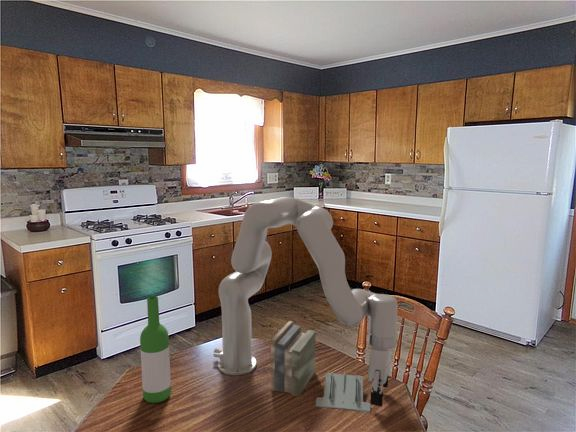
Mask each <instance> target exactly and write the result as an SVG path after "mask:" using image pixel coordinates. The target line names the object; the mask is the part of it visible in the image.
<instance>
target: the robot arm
mask: <svg viewBox="0 0 576 432" xmlns="http://www.w3.org/2000/svg"><path fill="white" fill-rule="evenodd" d="M287 225H292V226H295V227H296V231H297V233H298V235H299V236H300V238H301V240H302V242H303V243H304V245H305V247H306V248H307V250H308V253H309V254H310V256H311V258H312V260H313V261H314V263H315V264H316V266H317V268H318V273H319V278H320V282H321V286H322V289H323V292H324V293H323V294H324V295H325V298H326V300H327V302H328V304H329V306H330V308H331V309H332V311H333V312H334V313H333V314H334V315H336V317H337V318H338V320H339V321H340V322H341V323H343V324H344V325H345V326H349V327H353V326H358V325H359V324H361V323H362V322H363V320H364V319H365V318H366V317H368V335H367V338H368V339H367V340H368V341H367V344H368V345H369V346H370V351H369V361H368V374H367V380H368V381H367V382H372V383H371V388H370V389H371V390H370V400H369V401H370V402H369V403H370V405H373V406H377V407H381V408H382V407H383V400H384V399H383V398H384V392H383V388H388V386H389V373H390V367H391V358H392V350H393V349H395V348H396V345H397V327H398V326H397V324H398V323H397V322H398V304H399V303H398V300H397V299H396V297H394V296H392V295H390V294H387V293H385V294H384V293H375V292H372V291H369V290H366V289H362V288H354V289H351V287H350V285H349V283H348V281H347V276H346V256H345V253H344V251H343V249H342V247H341V246H340V244H339V243H338V241H337V239H336V237H335V236H334V234H333V232H332V228H333V225H334V219H333V216H332V214H331V213H330V211H328V210H327V209H326V208H323V207H320V206H319V205H315V204H312V203H311V202H308V201H307V202H306V201H304V200H301V199H298V198H295V197H291V196H282V197H279V198H278V197H277V198H272V199H268V200H263V201H258V202H254V203H252V204H251V205H250V206H249V207H248V208H247V209H246V210H245V212H244V214H243V218H242V222H241V225H240V229H239V232H238V235H237V238H236V241H235V244H234V248H233V250H232V255H231V258H230V259H231V260H230V263H231V266H232V269H233V270H234V272H232V273H230V274H228V275H226V276H225V277H224V278H223V279H222V280H221V282H220V284H219V286H218V297H219V301H220V307H221V324H222V327H221V328H222V332H221V333H222V348H220V347H219V348H218V347H214V350H213V357H214V358H218V359H219V361H218V364H217V365H218V369H219V371H220V372H222V373H223V374H224V375H227V376H228V375H229V376H242V375H247V374H249V373H251V372H253V371H254V370H255V369H256V367H257V358H255V357H254V356H253V354H252V353H253V351H252V350H253V349H252V348H253V347H252V342H253V341H252V339H253V338H252V337H253V336H252V328H253V327H252V309H251V307H250V304H249V298H251V297H252V296H253V295H255V294H256V293H258V292H259V291H260V289H262V287H263V285H264V282H265V279H266V276H267V273H268V271H269V267H270V264H271V261H272V257H273V256H272V255H273V253H272V248H271V245H270V244H269V242H268V241H267V237H268V229H272V228H273V229H274V228H275V229H276V228H280V227H281V228H282V227H283V226H287Z"/></svg>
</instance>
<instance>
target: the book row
mask: <svg viewBox="0 0 576 432" xmlns="http://www.w3.org/2000/svg"><path fill="white" fill-rule="evenodd" d="M301 327H302V326H301V325H297V324H294V321H293V320H292V321H291V320H289V321H288V322H286V324H284V326H283V327H282V328H280V330H279V331H278V332H277V333H276V334H275V335H274V336H273V337H272V338H271V339H270V390H271V391H277V392H280V393H284V392H285V393H288V394H291V396H294V397H298V398H300V396H301V395H302V393H303V392H304V390H305V389H306V387H307V385H308V384H309V382H310V381H311V379H312V378H313V376H314V374H315V373H316V337H317V336H316V331H315V330H312V329H311V330H310V329H308V330H307V331H306V332H305V333H304V332H302V329H301Z"/></svg>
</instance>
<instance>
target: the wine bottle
mask: <svg viewBox="0 0 576 432" xmlns="http://www.w3.org/2000/svg"><path fill="white" fill-rule="evenodd" d="M146 302H147V306H146V307H147V325H146V326H145V327H144V328H143V329H142V331H141V333H140V337H139V342H140V343H139V344H140V365H141V366H140V368H141V385H142V387H141V388H142V397H143V399H144V401H146V402H148V403H150V404H156V403H158V404H159V403H161V402H163V401H166V400H167V399H168V398H169V397H170V396H171V392H172V386H171V384H172V382H171V363H170V361H171V360H170V356H171V355H170V341H169V339H170V338H169V336H170V335H169V331H168V330H167V328H166V327H165V326H164V325H163V324H162V323H161V322H160V313H159V312H160V310H159V297H158V295H157V296H156V295H151V296H150V295H149V296H148V297H147V298H146Z"/></svg>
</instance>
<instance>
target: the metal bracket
mask: <svg viewBox="0 0 576 432" xmlns="http://www.w3.org/2000/svg"><path fill="white" fill-rule="evenodd" d="M363 385H364V377H363V376H362V375H358V374H354V375H352V374H346V371H345V370H343V374H341V373H334V372H326V373H325V383H324V391H323V397H320V396H319V397H316V400H315V407H317V408H324V409H325V408H326V409H328V408H329V409H339V410H346V411H347V410H348V411H357V412H360V413H369V414H370V413H371V403H370V402H365V401H364V386H363Z"/></svg>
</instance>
